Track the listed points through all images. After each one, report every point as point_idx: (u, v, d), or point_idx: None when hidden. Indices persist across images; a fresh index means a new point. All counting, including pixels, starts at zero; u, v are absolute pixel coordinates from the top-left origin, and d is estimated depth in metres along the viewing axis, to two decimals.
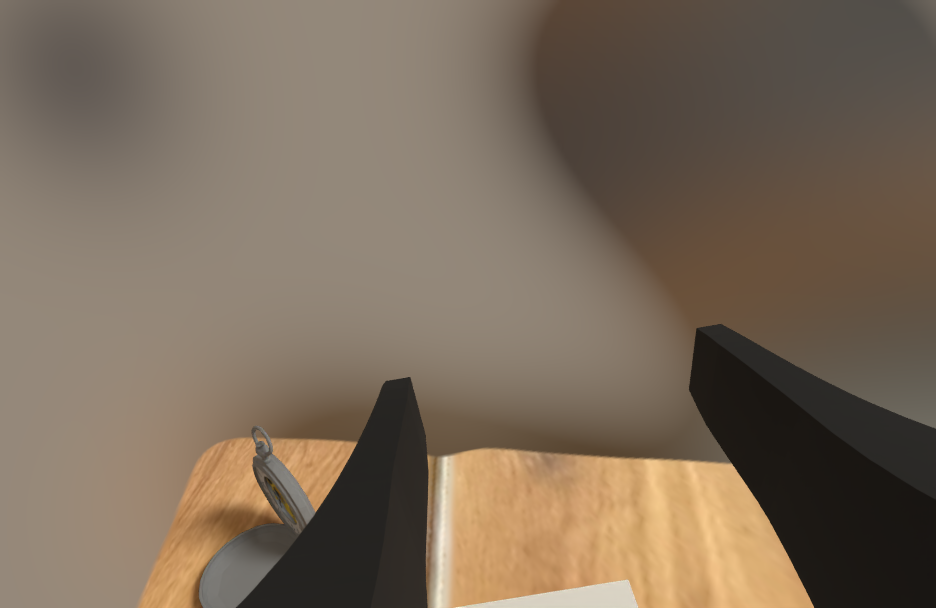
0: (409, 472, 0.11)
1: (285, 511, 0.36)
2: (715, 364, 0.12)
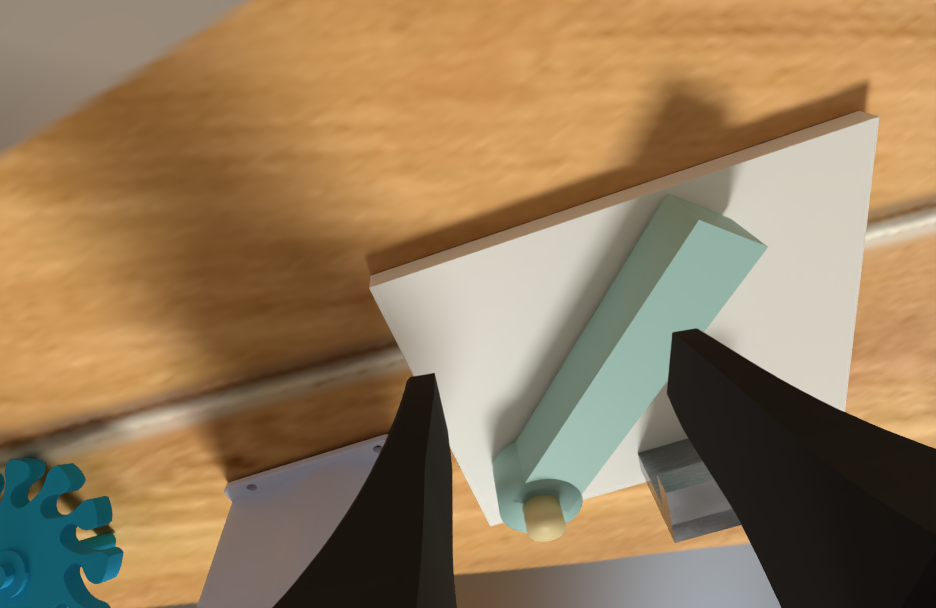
0: (437, 467, 0.11)
1: None
2: (689, 368, 0.12)
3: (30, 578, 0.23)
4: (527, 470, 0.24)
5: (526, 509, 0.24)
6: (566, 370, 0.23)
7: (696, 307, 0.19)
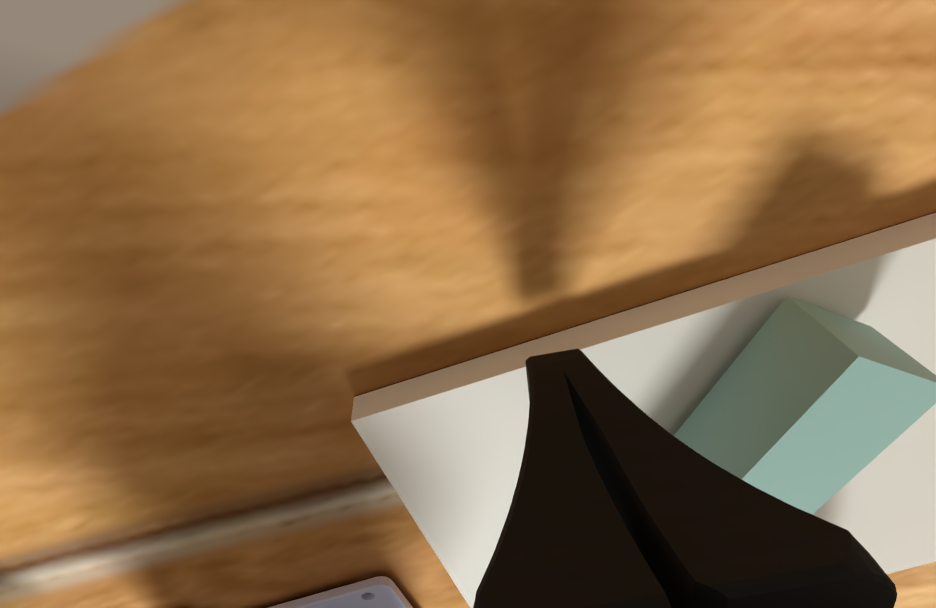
0: None
1: None
2: None
3: None
4: None
5: None
6: None
7: (830, 465, 0.13)
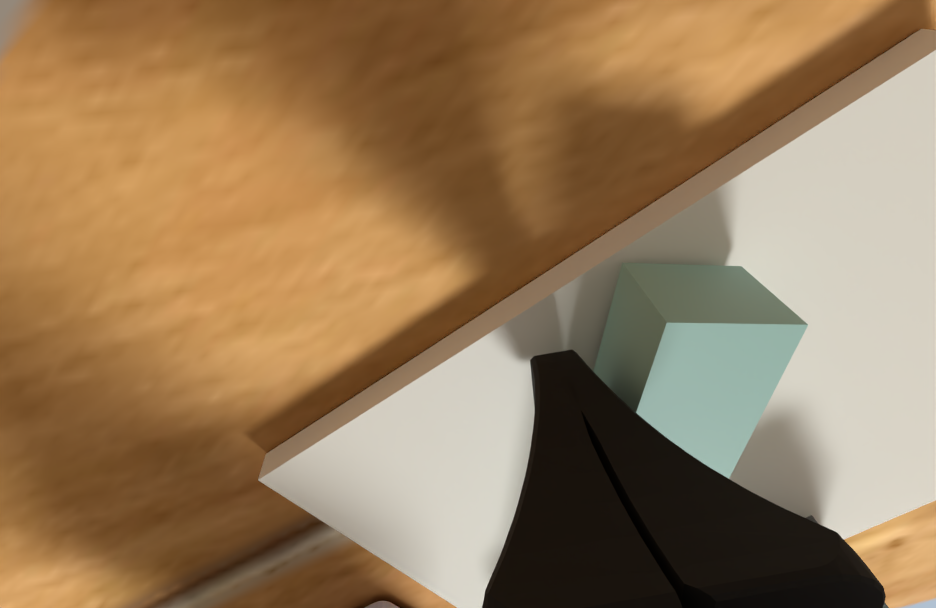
0: None
1: None
2: None
3: None
4: None
5: None
6: None
7: (714, 431, 0.12)
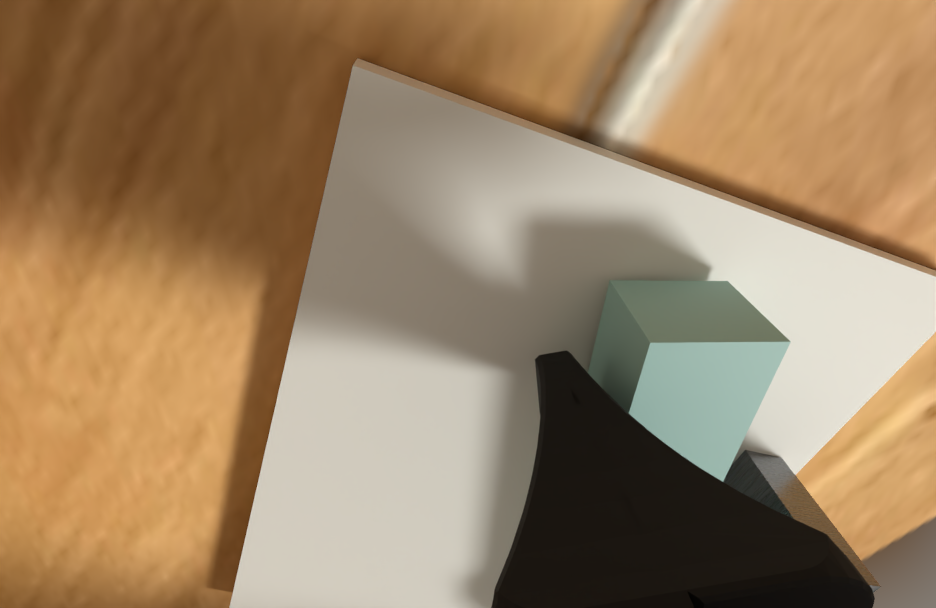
0: None
1: None
2: None
3: None
4: None
5: None
6: None
7: (702, 445, 0.12)
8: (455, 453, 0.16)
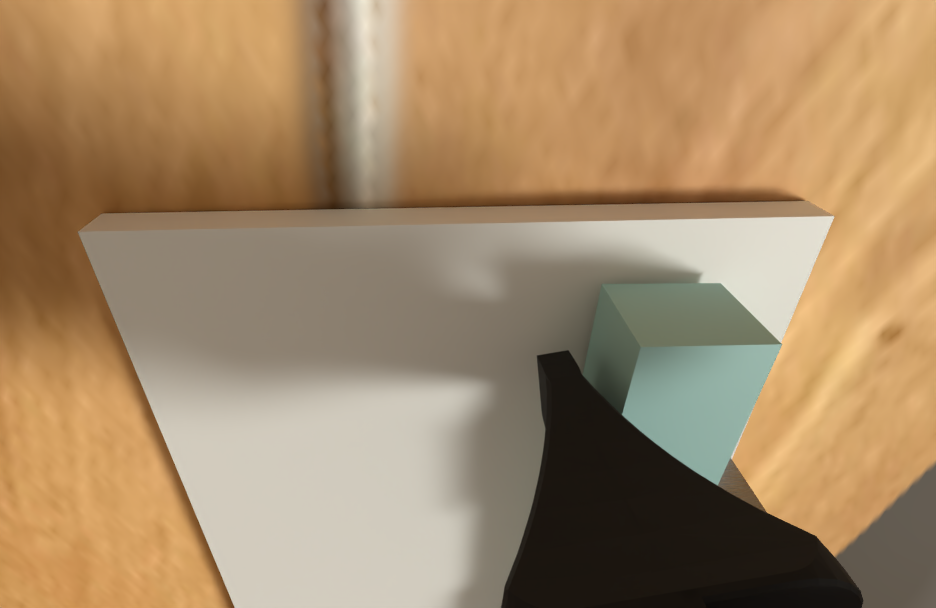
0: None
1: None
2: (547, 393, 0.12)
3: None
4: None
5: None
6: None
7: (695, 448, 0.12)
8: (371, 502, 0.16)
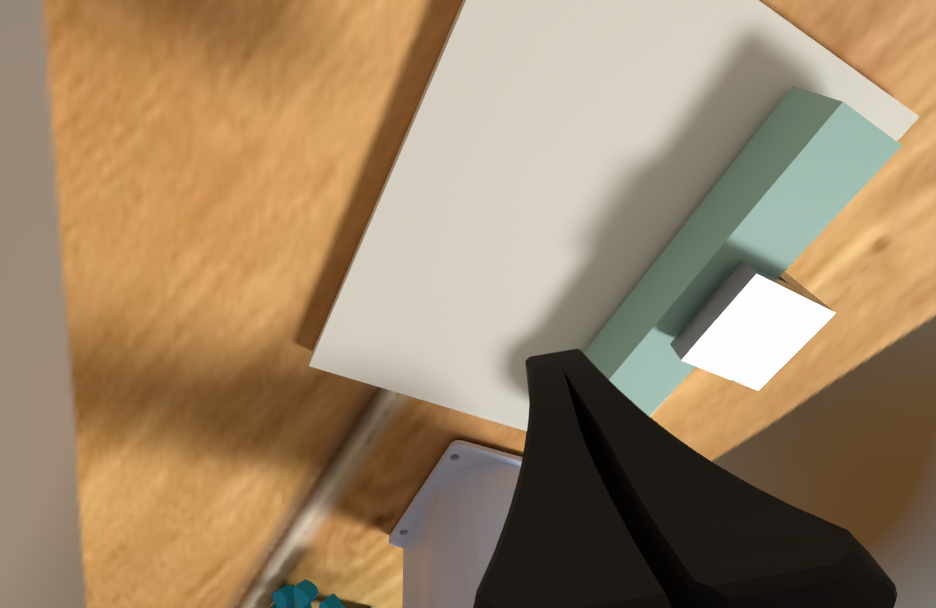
0: None
1: None
2: None
3: None
4: None
5: None
6: (648, 283, 0.21)
7: (812, 210, 0.18)
8: (529, 210, 0.20)
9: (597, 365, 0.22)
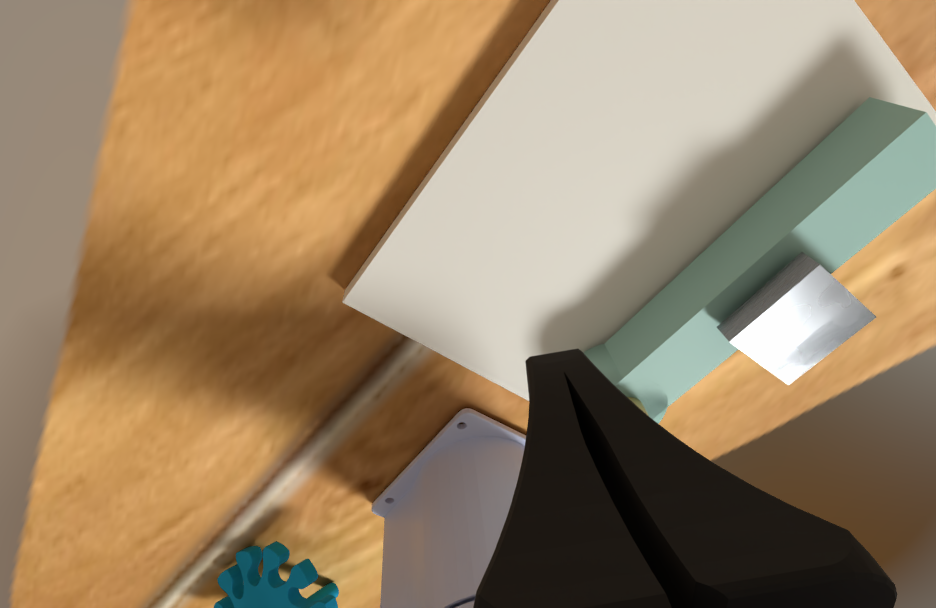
0: None
1: None
2: None
3: None
4: (627, 366, 0.22)
5: None
6: (697, 268, 0.22)
7: (873, 214, 0.19)
8: (602, 174, 0.20)
9: (634, 343, 0.23)
